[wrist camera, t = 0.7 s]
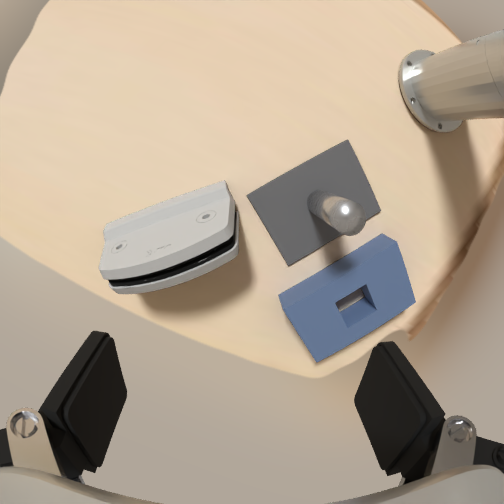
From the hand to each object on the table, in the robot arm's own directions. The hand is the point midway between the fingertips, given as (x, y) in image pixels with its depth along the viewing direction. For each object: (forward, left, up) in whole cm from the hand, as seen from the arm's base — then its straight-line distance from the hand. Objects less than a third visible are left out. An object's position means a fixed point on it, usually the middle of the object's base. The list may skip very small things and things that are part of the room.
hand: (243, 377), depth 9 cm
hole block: (-8, +16, -26) cm, 31 cm away
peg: (-10, +3, -25) cm, 27 cm away
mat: (-10, +3, -26) cm, 28 cm away
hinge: (+7, -3, -26) cm, 27 cm away
